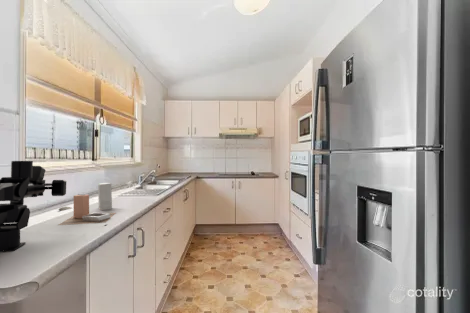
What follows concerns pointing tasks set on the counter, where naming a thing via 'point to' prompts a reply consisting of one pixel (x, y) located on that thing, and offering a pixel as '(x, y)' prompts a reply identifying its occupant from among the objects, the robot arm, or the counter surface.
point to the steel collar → (96, 217)
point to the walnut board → (79, 221)
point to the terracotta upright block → (81, 205)
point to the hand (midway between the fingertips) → (49, 186)
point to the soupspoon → (65, 208)
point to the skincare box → (104, 196)
